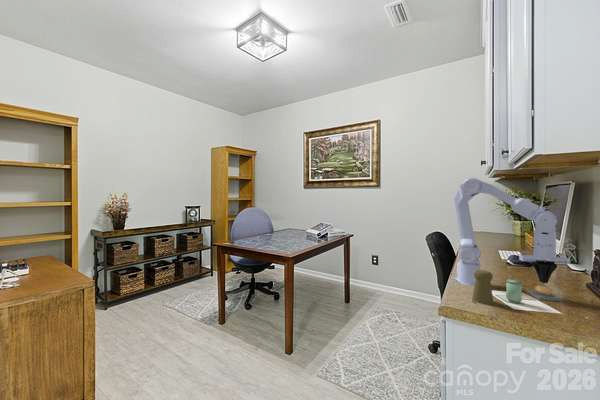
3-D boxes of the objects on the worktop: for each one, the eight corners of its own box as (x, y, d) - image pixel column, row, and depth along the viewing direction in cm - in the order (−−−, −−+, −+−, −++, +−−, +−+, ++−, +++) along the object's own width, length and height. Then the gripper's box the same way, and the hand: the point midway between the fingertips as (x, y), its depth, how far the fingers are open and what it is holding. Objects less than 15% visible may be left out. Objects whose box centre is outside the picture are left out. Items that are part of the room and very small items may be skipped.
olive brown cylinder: (484, 307, 82) (485, 273, 82) (467, 300, 88) (468, 268, 88) (498, 305, 84) (499, 272, 84) (480, 298, 90) (481, 267, 90)
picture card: (484, 291, 98) (484, 289, 98) (523, 294, 95) (523, 292, 95) (513, 310, 80) (513, 308, 80) (562, 315, 77) (562, 313, 77)
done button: (532, 290, 94) (532, 285, 94) (546, 291, 93) (546, 286, 93) (540, 294, 89) (541, 289, 89) (555, 295, 89) (555, 290, 89)
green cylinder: (503, 299, 88) (503, 278, 88) (516, 300, 87) (516, 279, 87) (511, 303, 84) (511, 282, 84) (525, 304, 83) (525, 283, 83)
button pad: (525, 294, 95) (525, 289, 95) (547, 295, 94) (547, 290, 94) (539, 301, 88) (539, 295, 88) (563, 303, 87) (563, 297, 87)
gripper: (528, 245, 89) (527, 284, 89) (578, 247, 86) (577, 287, 86) (515, 242, 96) (514, 277, 96) (561, 244, 93) (560, 281, 93)
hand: (543, 282), depth 91 cm, fingers closed
